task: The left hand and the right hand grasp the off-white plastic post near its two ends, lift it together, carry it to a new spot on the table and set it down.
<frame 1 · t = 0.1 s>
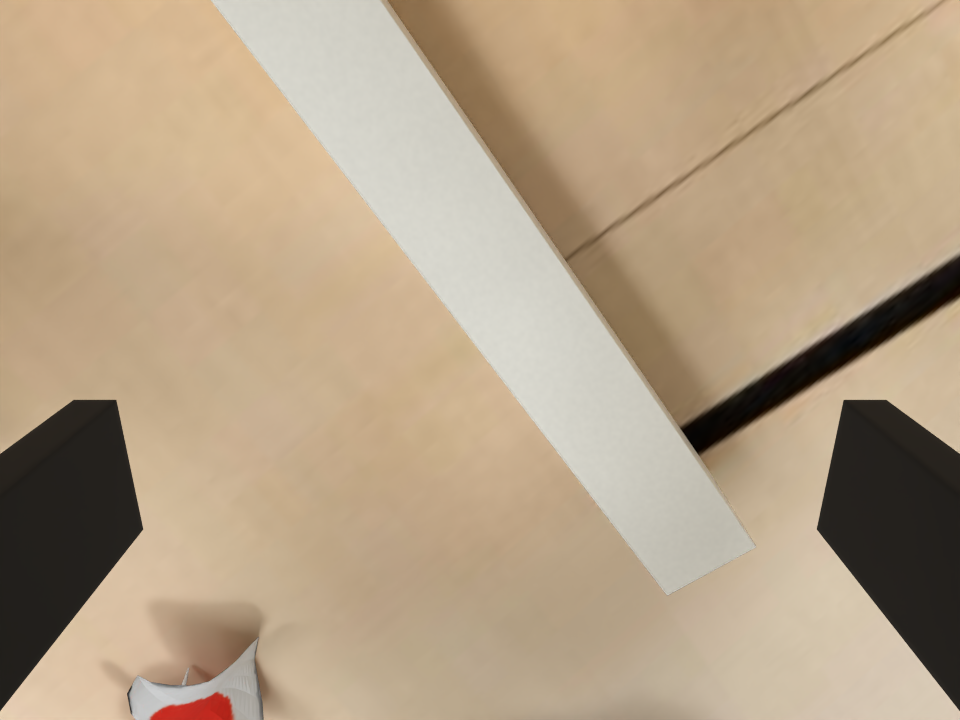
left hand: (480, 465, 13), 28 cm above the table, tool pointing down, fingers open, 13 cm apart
fish: (200, 679, 51), on the table
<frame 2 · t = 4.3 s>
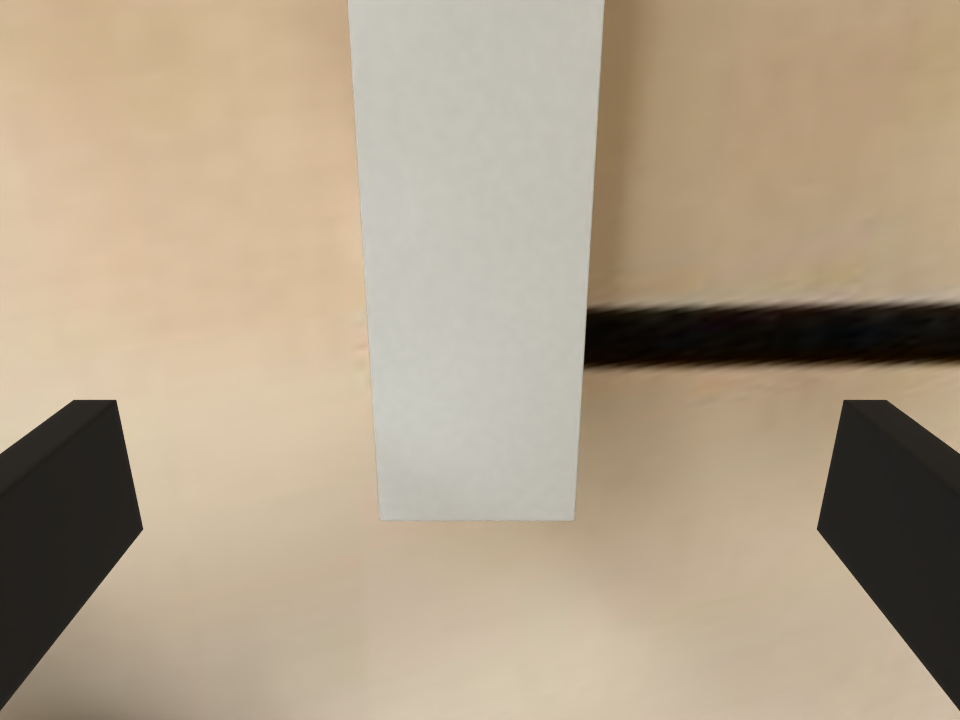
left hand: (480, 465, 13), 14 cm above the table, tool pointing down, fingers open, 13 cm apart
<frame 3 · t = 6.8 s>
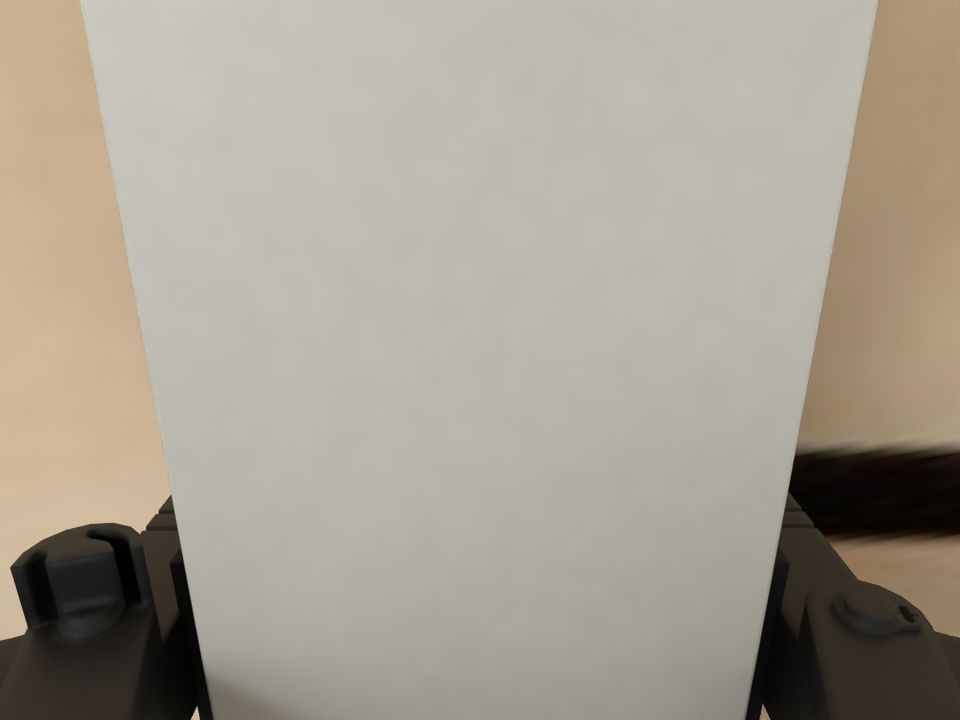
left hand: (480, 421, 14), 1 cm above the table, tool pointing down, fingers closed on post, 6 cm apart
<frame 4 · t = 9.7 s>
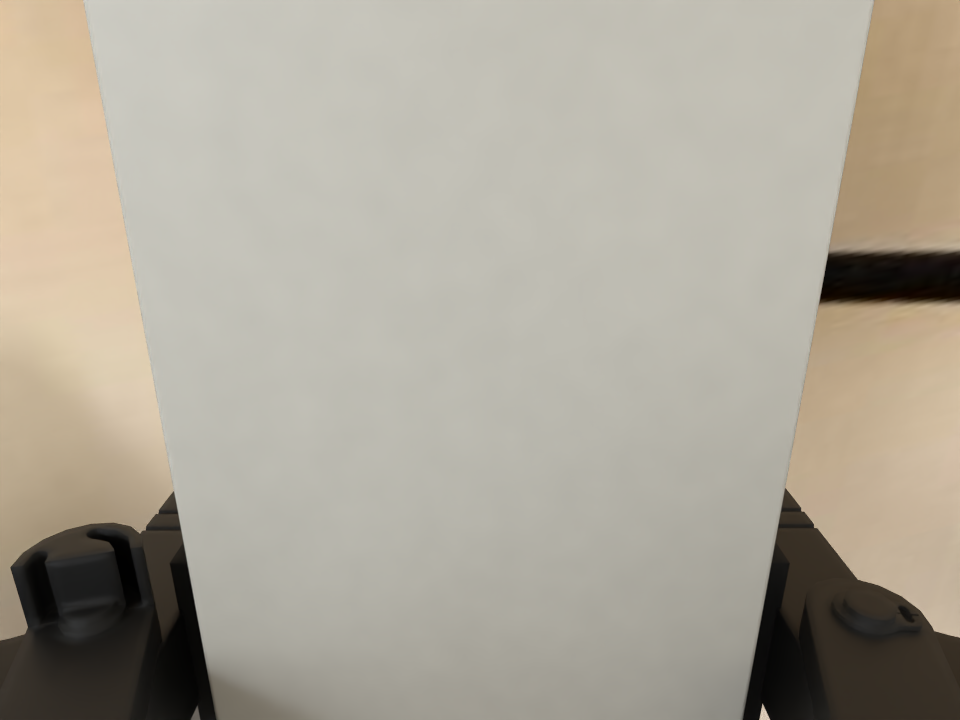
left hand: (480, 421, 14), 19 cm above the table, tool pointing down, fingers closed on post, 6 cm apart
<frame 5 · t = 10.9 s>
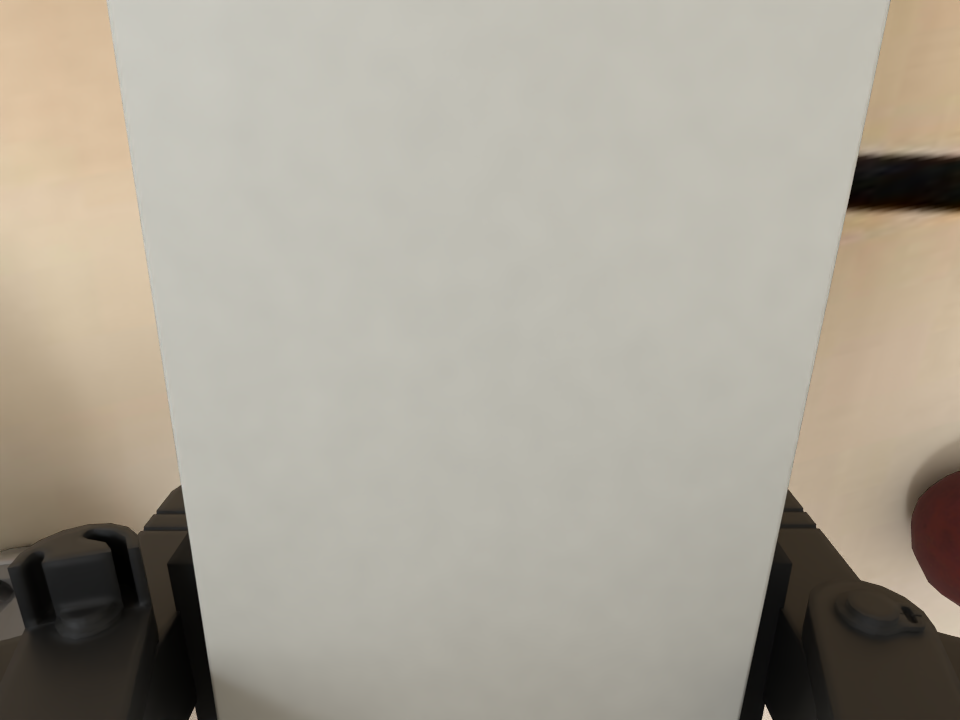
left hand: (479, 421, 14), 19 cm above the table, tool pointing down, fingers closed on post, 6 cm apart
potato: (950, 503, 37), on the table
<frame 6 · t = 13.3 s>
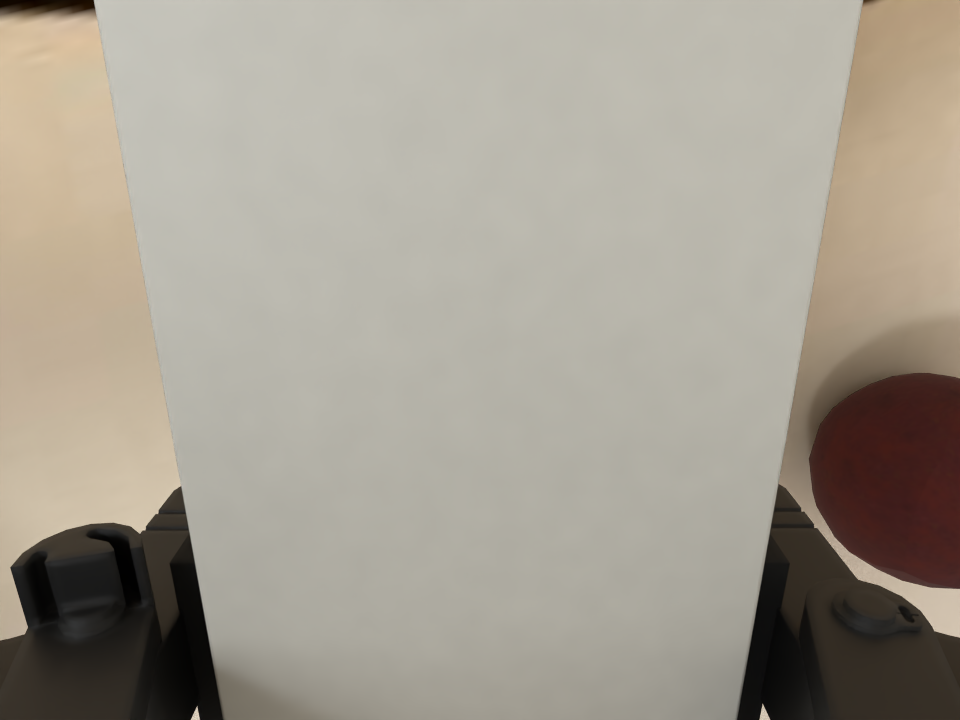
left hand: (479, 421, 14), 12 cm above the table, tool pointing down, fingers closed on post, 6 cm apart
potato: (868, 433, 28), on the table
when the left hand's fingers open (2 cm above the table, at t = 14.8 s): post stays where it is, on the table.
when the right hand's fingers open (4 cm above the table, at t = 15.0 s): post stays where it is, on the table.
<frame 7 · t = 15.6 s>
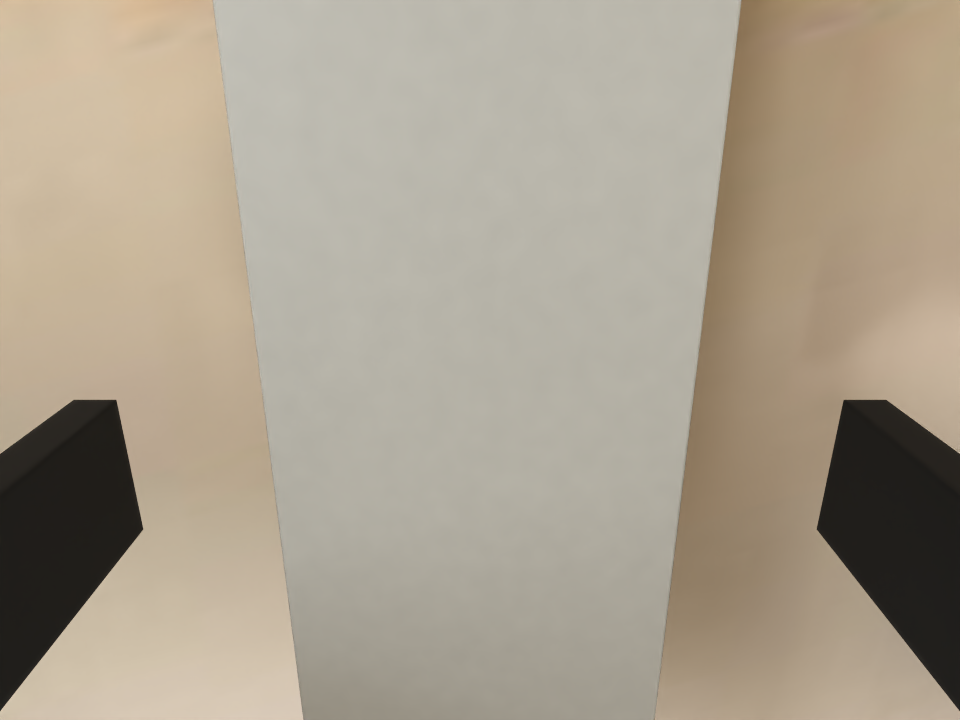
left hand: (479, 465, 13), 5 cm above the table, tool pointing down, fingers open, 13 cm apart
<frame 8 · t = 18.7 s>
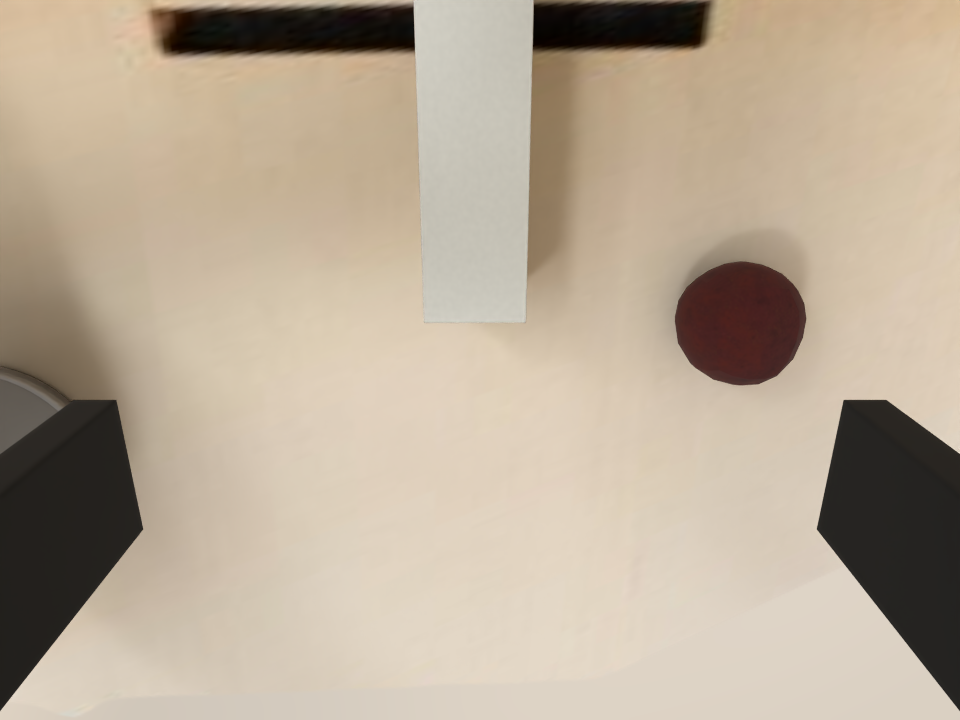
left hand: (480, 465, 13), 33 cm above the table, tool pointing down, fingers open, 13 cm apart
potato: (717, 307, 45), on the table
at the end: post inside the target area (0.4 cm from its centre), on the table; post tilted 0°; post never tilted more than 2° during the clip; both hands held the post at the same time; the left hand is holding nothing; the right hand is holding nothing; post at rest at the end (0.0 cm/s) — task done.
